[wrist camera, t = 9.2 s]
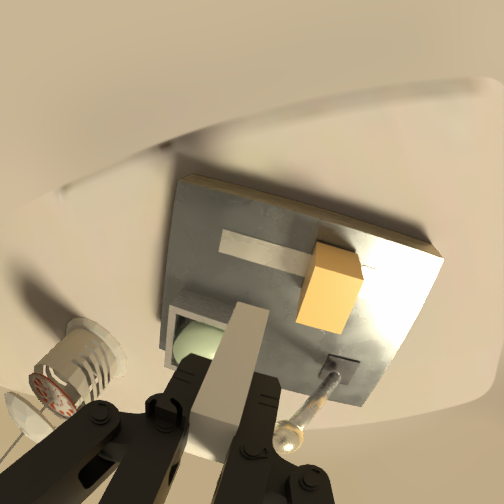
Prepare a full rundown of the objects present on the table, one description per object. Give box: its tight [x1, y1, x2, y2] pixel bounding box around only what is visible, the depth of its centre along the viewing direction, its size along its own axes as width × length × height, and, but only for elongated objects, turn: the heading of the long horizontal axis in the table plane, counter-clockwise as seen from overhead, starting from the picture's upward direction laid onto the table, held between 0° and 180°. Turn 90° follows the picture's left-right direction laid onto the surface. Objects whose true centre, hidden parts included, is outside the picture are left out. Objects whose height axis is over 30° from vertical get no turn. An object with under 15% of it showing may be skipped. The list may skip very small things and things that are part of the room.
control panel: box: [159, 174, 444, 407], centre depth 25 cm, size 20×16×6 cm
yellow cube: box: [296, 242, 364, 335], centre depth 21 cm, size 3×4×4 cm
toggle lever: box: [273, 372, 341, 454], centre depth 21 cm, size 2×2×10 cm
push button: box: [173, 319, 225, 364], centre depth 25 cm, size 5×5×3 cm
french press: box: [0, 318, 128, 463], centre depth 25 cm, size 10×12×25 cm
